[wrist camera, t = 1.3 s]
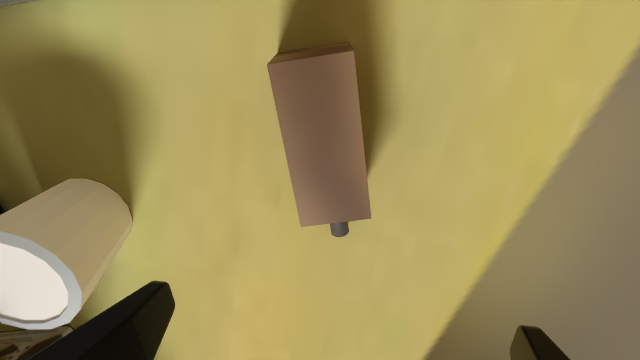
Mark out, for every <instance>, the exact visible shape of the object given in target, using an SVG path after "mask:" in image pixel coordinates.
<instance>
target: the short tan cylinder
mask: <svg viewBox="0 0 640 360" xmlns="http://www.w3.org/2000/svg"><path fill="white" fill-rule="evenodd" d="M131 226H132V217H131V214H130V210H129V207H128V206H127V204H126V203H125V202H124V201H123V199H122V198H121V197H120V196H119V194H118V193H116V192H115V191H113V190H112V189H110V188H109V187H107V186H106V185H104V184H102V183H99V182H96V181H93V180H89V179H86V178H85V179H68V180H66V181H64V182H62V183H60V184H58V185H56V186H54V187H52V188H50V189H48V190H46V191H44V192H43V193H41V194H39V195H37V196H35V197H33V198H31V199H29V200H28V201H26V202H24V203H22V204H20V205H18V206H16V207H14V208H12V209H11V210H9V211H7V212H5V213H3V214H1V215H0V322H1V323H3V324H7V325H11V326H15V327H19V328H24V329H28V330H32V329H53V328H56V327H59V326H61V325H64V324H67V323H69V322H70V321H71V320H72V319H73V318H74V317H75V316H76V314H77V313H78V312H79V311H80V310H81V308H82V307H83V305H84V304H85V302H86V301H87V299H88V297H89V296H90V294H91V293H92V291H93V290H94V288H95V287H96V285H97V283H98V282H99V280H100V279H101V277H102V276H103V274H104V273H105V271H106V269H107V268H108V266H109V265H110V263H111V262H112V260H113V258H114V257H115V255H116V254H117V252H118V251H119V249H120V248H121V246H122V244H123V243H124V241H125V240H126V238H127V237H128V235H129V234H130V232H131Z"/></svg>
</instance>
